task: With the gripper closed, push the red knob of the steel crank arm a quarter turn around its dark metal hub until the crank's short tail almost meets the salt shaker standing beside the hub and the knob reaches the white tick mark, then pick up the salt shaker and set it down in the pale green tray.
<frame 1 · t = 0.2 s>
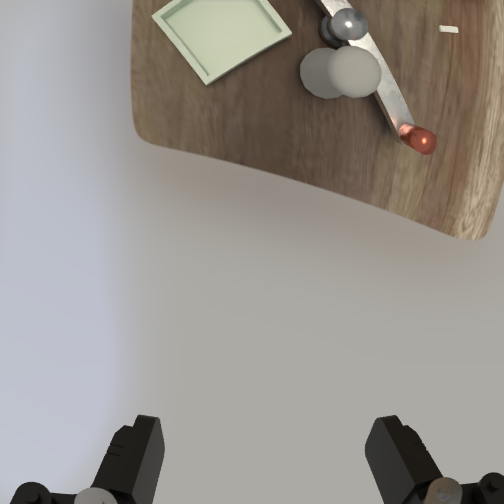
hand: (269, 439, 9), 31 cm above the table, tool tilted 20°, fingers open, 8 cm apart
tray: (222, 25, 26), on the table
crank: (375, 60, 23), point 6 cm above the table, hinge at 0.0°
crank base: (337, 30, 26), on the table
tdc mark: (447, 29, 24), on the table
salt shaker: (322, 73, 29), on the table
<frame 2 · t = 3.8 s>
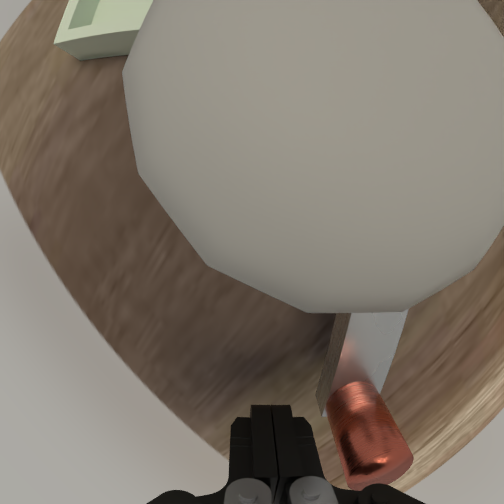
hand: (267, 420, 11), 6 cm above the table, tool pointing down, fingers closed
crank: (412, 197, 9), point 6 cm above the table, hinge at 0.6°, touching gripper
salt shaker: (269, 163, 14), on the table
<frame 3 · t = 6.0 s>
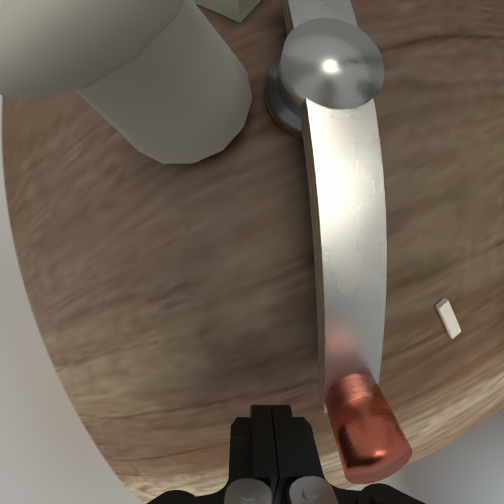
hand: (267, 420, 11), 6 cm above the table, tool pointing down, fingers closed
crank: (358, 184, 9), point 6 cm above the table, hinge at 40.0°, touching gripper
crank base: (309, 97, 14), on the table
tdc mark: (446, 317, 16), on the table
salt shaker: (194, 111, 14), on the table
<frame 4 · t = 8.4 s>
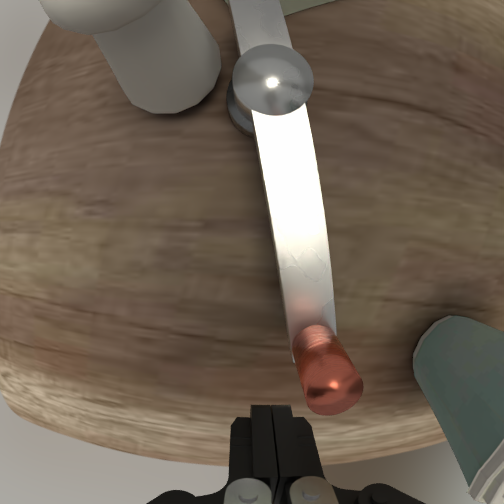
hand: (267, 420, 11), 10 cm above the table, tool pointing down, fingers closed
crank: (293, 170, 12), point 6 cm above the table, hinge at 70.4°
crank base: (264, 105, 17), on the table
disposable coffee cup: (442, 345, 22), on the table
salt shaker: (178, 79, 17), on the table
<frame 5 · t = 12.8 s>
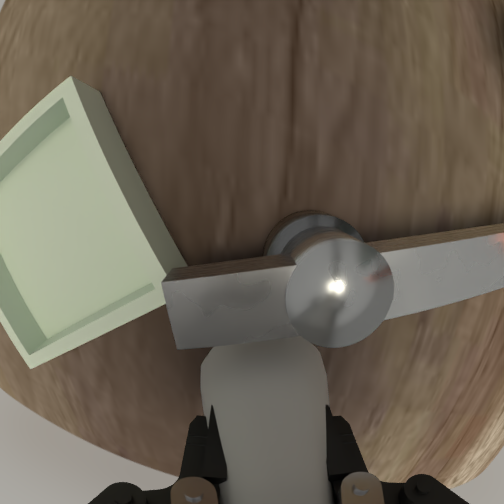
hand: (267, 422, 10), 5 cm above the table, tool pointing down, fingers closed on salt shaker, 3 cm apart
tray: (63, 230, 14), on the table
crank: (459, 279, 9), point 6 cm above the table, hinge at 70.4°
crank base: (309, 257, 14), on the table
salt shaker: (260, 353, 16), on the table, touching gripper
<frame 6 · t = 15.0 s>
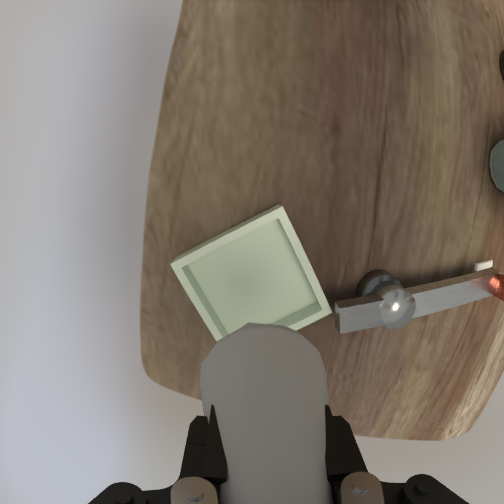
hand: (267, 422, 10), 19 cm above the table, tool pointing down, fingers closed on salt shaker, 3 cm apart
tray: (252, 279, 29), on the table
crank: (440, 303, 24), point 6 cm above the table, hinge at 70.4°
crank base: (376, 290, 29), on the table
disposable coffee cup: (502, 164, 27), on the table
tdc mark: (482, 264, 29), on the table
salt shaker: (260, 353, 16), point 13 cm above the table, touching gripper
when the fingers open (8 cm above the table, at t = 17.3 s): salt shaker stays where it is, resting on tray.
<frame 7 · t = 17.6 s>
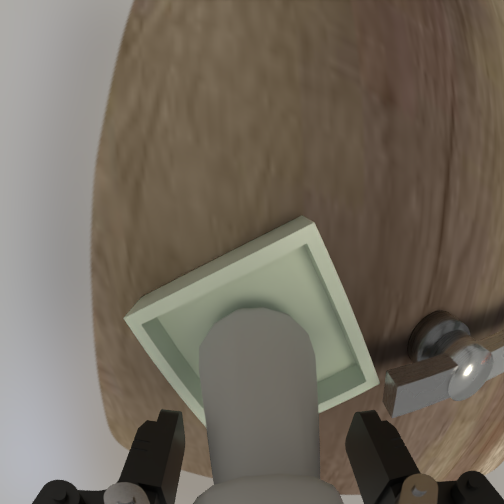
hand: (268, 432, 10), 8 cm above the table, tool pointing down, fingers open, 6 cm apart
tray: (259, 333, 18), on the table
crank base: (432, 338, 18), on the table
salt shaker: (255, 337, 17), point 1 cm above the table, touching tray
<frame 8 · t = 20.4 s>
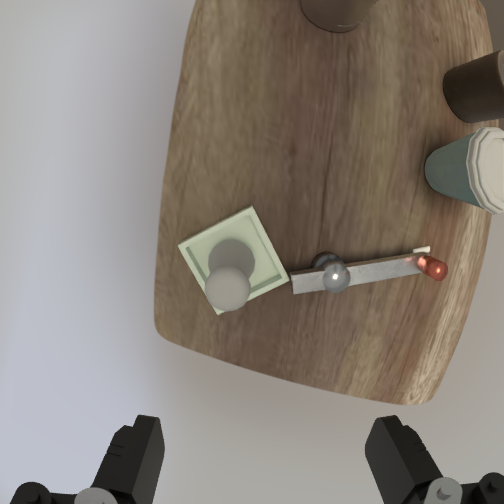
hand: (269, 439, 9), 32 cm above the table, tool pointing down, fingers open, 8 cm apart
tray: (234, 257, 41), on the table
crank: (370, 274, 36), point 6 cm above the table, hinge at 70.4°
crank base: (326, 267, 42), on the table
disposable coffee cup: (439, 169, 39), on the table
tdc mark: (420, 249, 41), on the table
pillar candle: (463, 96, 36), on the table
salt shaker: (232, 257, 40), point 1 cm above the table, touching tray
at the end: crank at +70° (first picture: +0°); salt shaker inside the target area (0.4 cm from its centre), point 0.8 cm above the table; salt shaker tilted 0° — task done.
